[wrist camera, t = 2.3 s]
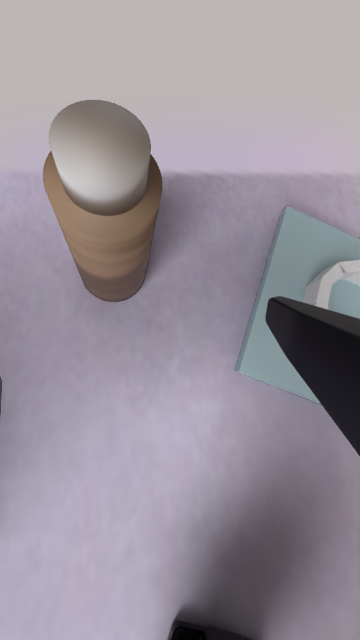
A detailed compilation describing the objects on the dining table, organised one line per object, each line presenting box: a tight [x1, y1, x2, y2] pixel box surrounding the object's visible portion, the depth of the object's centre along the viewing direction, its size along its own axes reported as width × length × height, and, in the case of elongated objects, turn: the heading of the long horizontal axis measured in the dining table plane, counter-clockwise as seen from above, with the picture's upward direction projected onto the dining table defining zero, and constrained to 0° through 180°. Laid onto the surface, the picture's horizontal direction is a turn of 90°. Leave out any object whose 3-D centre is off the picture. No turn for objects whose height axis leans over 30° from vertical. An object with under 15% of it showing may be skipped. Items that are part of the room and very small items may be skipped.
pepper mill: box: [43, 100, 162, 302], centre depth 17 cm, size 5×5×13 cm
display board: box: [235, 206, 360, 404], centre depth 25 cm, size 16×16×3 cm
